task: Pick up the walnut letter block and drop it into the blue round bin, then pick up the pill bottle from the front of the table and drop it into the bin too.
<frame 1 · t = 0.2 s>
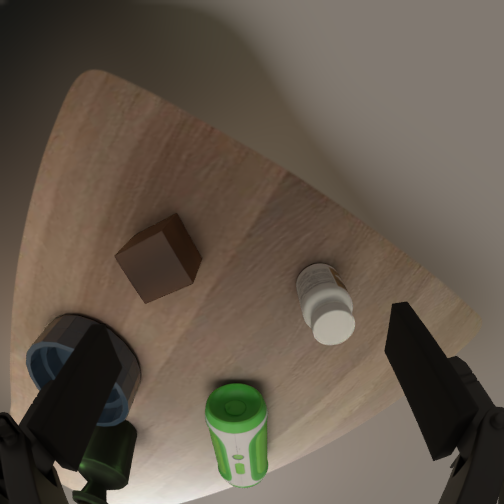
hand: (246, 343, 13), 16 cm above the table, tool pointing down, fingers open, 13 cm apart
blue round bin: (92, 357, 35), on the table
speaker: (241, 420, 39), on the table
pill bottle: (317, 281, 31), on the table
potion bottle: (118, 425, 41), on the table
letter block: (167, 247, 29), on the table
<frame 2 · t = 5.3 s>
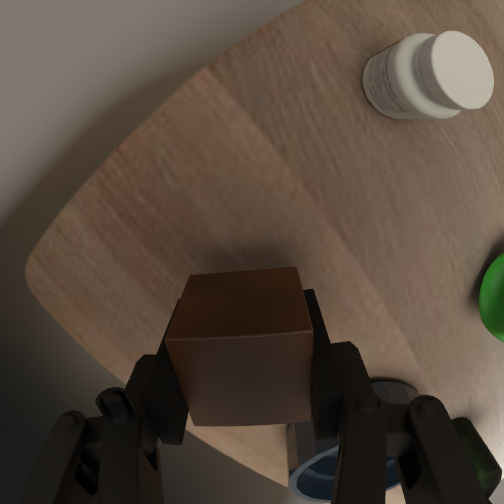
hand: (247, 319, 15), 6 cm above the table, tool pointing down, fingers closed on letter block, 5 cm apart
blue round bin: (355, 425, 27), on the table
pill bottle: (392, 85, 16), on the table
potion bottle: (446, 432, 29), on the table
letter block: (247, 315, 16), point 5 cm above the table, touching gripper
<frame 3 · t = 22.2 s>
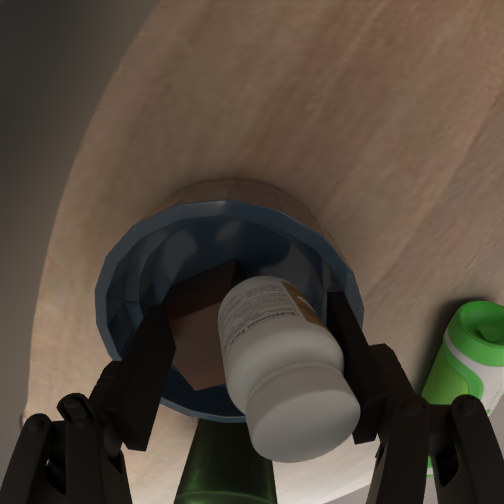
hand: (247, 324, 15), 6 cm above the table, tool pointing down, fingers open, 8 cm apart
blue round bin: (233, 284, 21), on the table
speaker: (440, 373, 24), on the table
pill bottle: (261, 312, 16), point 5 cm above the table, touching gripper, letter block
potion bottle: (233, 421, 27), on the table
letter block: (220, 303, 21), point 1 cm above the table, touching blue round bin, pill bottle
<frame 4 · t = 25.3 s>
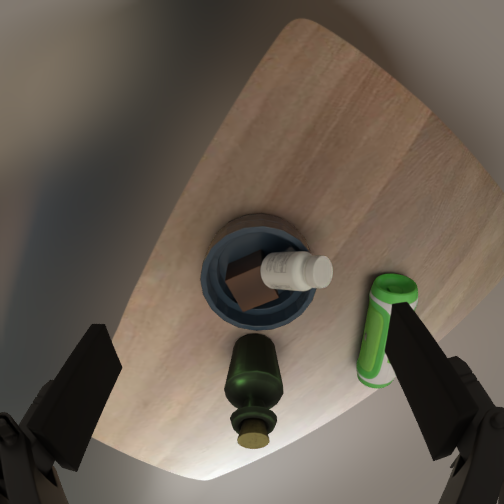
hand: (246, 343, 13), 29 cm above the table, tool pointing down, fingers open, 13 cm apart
blue round bin: (258, 262, 43), on the table
speaker: (377, 319, 47), on the table
pill bottle: (271, 270, 39), point 5 cm above the table, touching blue round bin, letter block
potion bottle: (254, 348, 49), on the table
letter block: (252, 271, 43), point 1 cm above the table, touching blue round bin, pill bottle
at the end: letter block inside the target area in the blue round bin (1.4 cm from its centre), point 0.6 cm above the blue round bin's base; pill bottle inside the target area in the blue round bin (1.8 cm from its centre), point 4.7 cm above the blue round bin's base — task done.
